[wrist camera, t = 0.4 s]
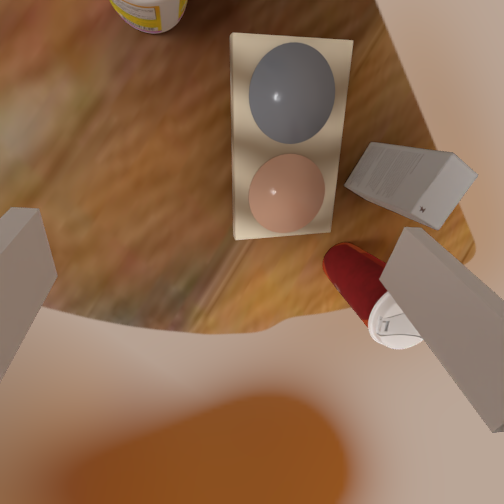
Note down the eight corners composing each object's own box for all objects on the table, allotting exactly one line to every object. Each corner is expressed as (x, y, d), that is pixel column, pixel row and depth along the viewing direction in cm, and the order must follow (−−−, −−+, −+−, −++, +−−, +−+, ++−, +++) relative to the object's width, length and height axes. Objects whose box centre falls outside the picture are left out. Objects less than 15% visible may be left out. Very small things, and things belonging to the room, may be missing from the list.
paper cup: (313, 288, 43) (370, 359, 31) (317, 237, 40) (382, 294, 28) (363, 281, 45) (436, 346, 33) (370, 231, 42) (455, 282, 29)
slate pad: (248, 40, 28) (249, 39, 28) (338, 45, 30) (340, 44, 30) (248, 144, 32) (249, 144, 32) (328, 143, 34) (330, 143, 34)
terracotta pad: (248, 154, 32) (249, 154, 32) (327, 152, 34) (329, 153, 34) (248, 235, 36) (248, 235, 36) (319, 229, 38) (320, 230, 38)
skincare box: (366, 200, 40) (438, 233, 29) (342, 185, 38) (408, 214, 27) (395, 157, 38) (481, 174, 28) (370, 139, 37) (453, 150, 26)
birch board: (229, 36, 29) (232, 32, 28) (345, 43, 32) (353, 40, 30) (233, 235, 37) (235, 240, 36) (325, 228, 40) (330, 232, 39)
